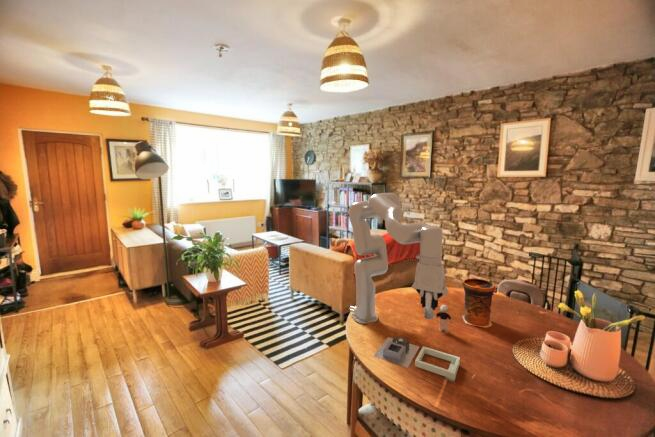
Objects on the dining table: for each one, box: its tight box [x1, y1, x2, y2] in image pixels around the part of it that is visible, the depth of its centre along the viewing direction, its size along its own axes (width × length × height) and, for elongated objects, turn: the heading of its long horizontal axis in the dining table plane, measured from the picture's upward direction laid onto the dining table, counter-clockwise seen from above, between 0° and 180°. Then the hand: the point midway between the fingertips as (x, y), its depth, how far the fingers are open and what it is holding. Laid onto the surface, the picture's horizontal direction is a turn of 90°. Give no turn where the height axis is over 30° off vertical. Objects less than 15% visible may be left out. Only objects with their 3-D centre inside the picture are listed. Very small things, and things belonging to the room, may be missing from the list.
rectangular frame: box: [414, 345, 461, 383], centre depth 114 cm, size 14×11×3 cm
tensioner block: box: [373, 336, 420, 369], centre depth 123 cm, size 14×16×4 cm
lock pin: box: [423, 291, 434, 320], centre depth 111 cm, size 4×4×13 cm
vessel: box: [461, 277, 496, 329], centre depth 146 cm, size 14×14×20 cm
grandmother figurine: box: [434, 304, 453, 334], centre depth 139 cm, size 8×4×13 cm, turn 71°
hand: (429, 306), depth 112 cm, fingers closed on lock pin, 3 cm apart
